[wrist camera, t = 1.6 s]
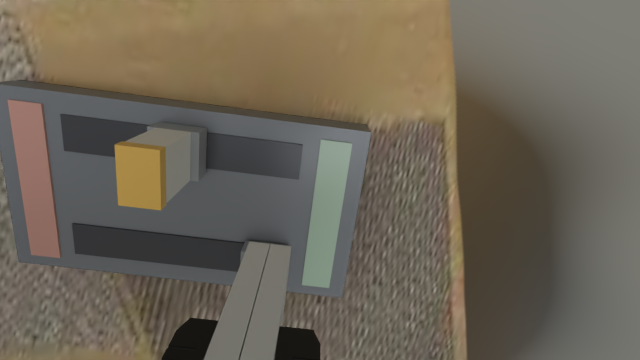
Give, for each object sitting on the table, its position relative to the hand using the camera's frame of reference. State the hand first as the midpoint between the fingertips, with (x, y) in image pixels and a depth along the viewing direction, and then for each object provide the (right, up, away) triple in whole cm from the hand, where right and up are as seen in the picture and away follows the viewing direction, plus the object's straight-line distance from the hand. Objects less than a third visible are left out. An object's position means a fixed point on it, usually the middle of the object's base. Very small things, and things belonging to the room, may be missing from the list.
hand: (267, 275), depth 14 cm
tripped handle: (-8, +6, +14) cm, 17 cm away
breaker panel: (-9, +3, +18) cm, 21 cm away
